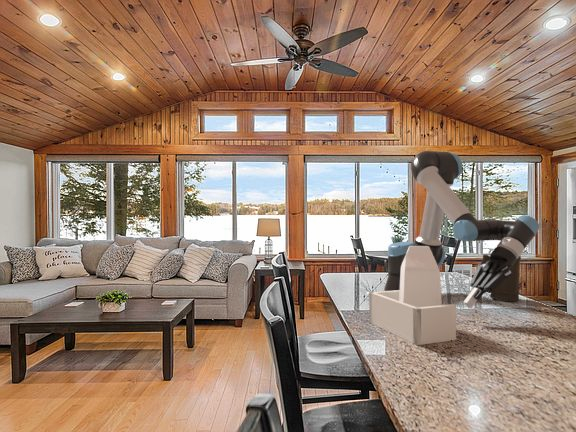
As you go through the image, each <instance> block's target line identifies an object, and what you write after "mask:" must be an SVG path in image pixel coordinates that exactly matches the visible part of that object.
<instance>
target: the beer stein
mask: <svg viewBox="0 0 576 432" xmlns="http://www.w3.org/2000/svg"><path fill="white" fill-rule="evenodd" d="M521 258H522V257H521V255H520V256H519V258H518V259H517V260H516V262H515V263H514V264H513V266H512V267H511V268H509V270H510V271H511V272H512V275H511V276H509V277H508V278H506V279H505V280H504V281H503V282H502V283H501V284H500V285H499V286H498V287H496V288H495V289H494V290H493V291H492V292H491V293H489V294H490V295H489V297H490V298H492V299H494V300H497V301H504V302H515V303H516V302H519V301H520V296H519V294H520V263H521ZM489 259H490V256H489V255H488V254H483V255H482V260H481V262H480V264H481V265H483V264H486V262H487V261H488V260H489Z"/></svg>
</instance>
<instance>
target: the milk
mask: <svg viewBox="0 0 576 432" xmlns="http://www.w3.org/2000/svg"><path fill="white" fill-rule="evenodd" d="M441 282H442V281H441V271H440V269H439V267H438V265H437V263H436V261H435V258H434V256H433V254H432V252H431V250H430V248H429V246H409V248H408V250H407V253H406V255H405V258H404V260H403V262H402V265H401V271H400V292H399V301H400V302H403V303H406V304H409V305H412V306H415V307H428V306H438V305H443V304H442V303H443V301H442V285H441Z"/></svg>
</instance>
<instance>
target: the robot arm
mask: <svg viewBox="0 0 576 432" xmlns="http://www.w3.org/2000/svg"><path fill="white" fill-rule="evenodd" d="M410 164H411V165H410V171H411V174H412V177H413V178H414V180H415V181H416V182H417V184H419V185H422V186H423V188H424V189H425V190H426V196H425V201H424V202H425V203H424V207H423V212H422V219H421V225H420V231H419V235H418V236H417V237H415V239H414V241H399V242H393V243H391V244H389V245H388V249H387V264H388V265H387V268H388V269H387V279H386V283H385V285H384V288H383V289H384V290H383V291H394V290H400V271H401V265H402V262H403V260H404V258H405V255H406V253H407V250H408V248H409V246H429V248H430V250H431V252H432V254H433V256H434V258H435V261H436V263H437V265H438V268H439V267H441V266H442V265H443V264H444V261H445V259H446V251H445V249H444V247H443V246H442V241H441V240H440V237H441V235H440V234H441V230H442V225H443V219H444V215H445V216H446V217H447V218H448V220H449V221H450V223H451V224H452V233H453V236H454V238H455V239H456V240H458V241H460V242H475V241H476V242H478V241H479V242H480V241H484V242H485V241H499V242H498V244H497V245H496V247H495V248H494V249H493V250H492V251H491V252H490V259H489V260H488V261H487V262H486V264H483V265H481V262H480V263H478V264H477V269H476V270H475V273H474V274H473V277H471V278H472V279H471V281H470V283H469V285H470V286H471V290H470V291H469V292H468V294H467V297H466V298H465V299H464V300H463V304H464V305H465V306H466V307H467V308H468V309H472V308H473V307H474V305H476V303H477V302H478V301H479V300H481V298H482V296H483V295H484V294H487V293H488V294H491V292H492V291H493V290H494V289H495V288H496V287H498V286H499V285H500V284H501V283H502V282H503V281H504V280H505V279H506V278H508V277H509V276H511V275H512V272H511V271H510V270H509V268H511V267H512V266H513V264H514V263H515V262H516V260H517V259H518V258H519V256H521V255H522V253H523V252H524V250H525V249H526V248H527V246H528V245H529V244H530V243H531V241H532V240H533V239H534V237H536V235H537V233H538V231H539V229H540V223H539V222H538V220H536V219H535V218H533V216H530V215H526V214H524V215H523V214H522V215H519V216H518V217H517V218H516V220H515V221H514V220H504V219H503V220H502V219H495V218H487V219H477V218H476V216H474V214H472V213H471V211H470V210H469V208H468V207H467V206H466V205H465V204H464V203H463V202H462V200H461V199H460V198H459V196H458V195H457V194H456V193H455V191H454V190H453V189H452V188H451V186H453V185H454V183H455V180H457V179H458V178H459V176H461V173H462V171H463V162H462V159H461V158H460V156H459V155H458V154H456V153H454V152H450V151H435V150H434V151H432V150H424V151H420V152H418V153H417V154H416V155H415V156H414V157H413V158H412V161H411V163H410Z"/></svg>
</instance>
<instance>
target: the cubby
mask: <svg viewBox="0 0 576 432" xmlns="http://www.w3.org/2000/svg"><path fill="white" fill-rule="evenodd" d="M399 292H400V290H394V291H384V290H382V291H370V292H369V297H368V299H369V300H368V301H369V303H368V304H369V305H368V306H369V307H368V308H369V309H368V310H369V323H371V324H372V325H374V326H376V327H379V328H381V329H382V330H385V331H387V332H389V333H390V334H393V335H395V336H397V337H399V338H401V339H402V340H405V341H407V342H409V343H411V344H413V345H414V346H415V345H416V346H421V345H428V344H437V343H443V342H451V340H452V341H457V305H456V304H454V303H453V304H452V303H451V304H449V303H447V304H442V305H438V306H428V307H415V306H412V305H409V304H406V303H403V302H400V301H399Z"/></svg>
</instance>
